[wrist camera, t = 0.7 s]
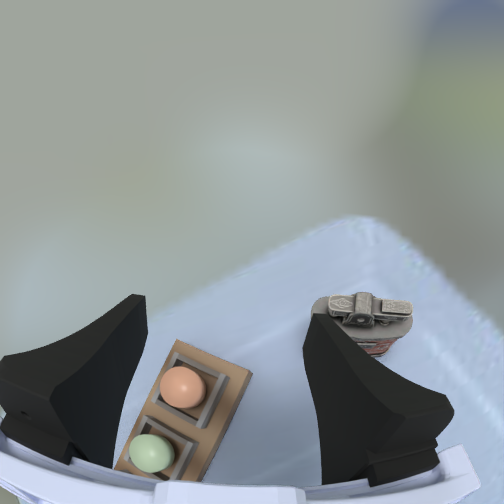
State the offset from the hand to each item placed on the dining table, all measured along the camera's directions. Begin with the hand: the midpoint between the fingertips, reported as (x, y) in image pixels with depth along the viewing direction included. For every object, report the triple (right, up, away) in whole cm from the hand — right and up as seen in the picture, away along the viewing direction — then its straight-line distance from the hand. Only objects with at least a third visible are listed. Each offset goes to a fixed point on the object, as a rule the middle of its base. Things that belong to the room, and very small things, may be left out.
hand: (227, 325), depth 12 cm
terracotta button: (-5, -9, +11) cm, 15 cm away
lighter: (+11, -6, +15) cm, 19 cm away
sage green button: (-7, -15, +8) cm, 18 cm away
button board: (-7, -17, +11) cm, 21 cm away
